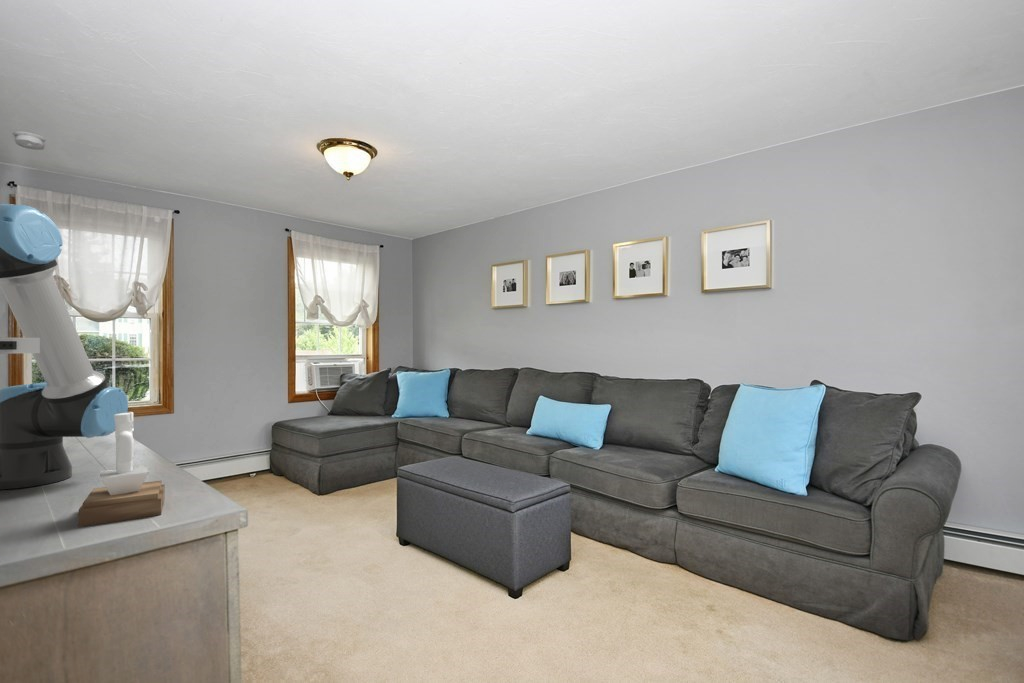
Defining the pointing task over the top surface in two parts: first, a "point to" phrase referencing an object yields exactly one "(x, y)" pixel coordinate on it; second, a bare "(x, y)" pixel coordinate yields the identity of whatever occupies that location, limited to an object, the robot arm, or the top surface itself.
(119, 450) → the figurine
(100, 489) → the plinth
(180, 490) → the top surface
